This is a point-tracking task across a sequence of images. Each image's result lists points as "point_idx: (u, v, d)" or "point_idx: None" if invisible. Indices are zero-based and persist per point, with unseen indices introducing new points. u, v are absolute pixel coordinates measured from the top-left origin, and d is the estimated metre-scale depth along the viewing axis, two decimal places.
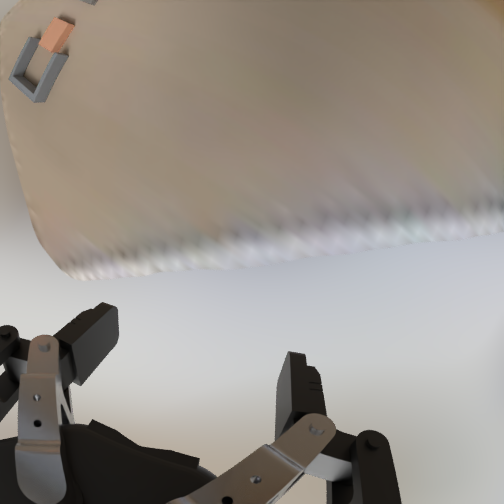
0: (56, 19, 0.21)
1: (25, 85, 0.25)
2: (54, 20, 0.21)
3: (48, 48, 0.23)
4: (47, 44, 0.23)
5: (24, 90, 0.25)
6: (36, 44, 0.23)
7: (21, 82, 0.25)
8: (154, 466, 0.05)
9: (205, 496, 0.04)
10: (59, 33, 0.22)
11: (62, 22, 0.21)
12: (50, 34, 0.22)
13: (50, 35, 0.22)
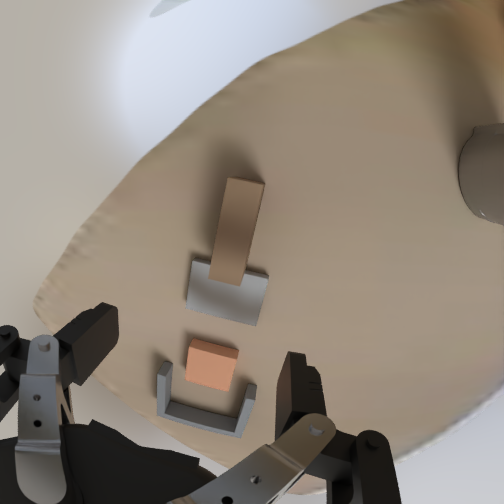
0: (198, 350, 0.27)
1: (204, 422, 0.29)
2: (194, 352, 0.27)
3: (217, 387, 0.28)
4: (209, 382, 0.28)
5: (209, 429, 0.29)
6: (171, 371, 0.29)
7: (192, 420, 0.29)
8: (154, 466, 0.05)
9: (205, 496, 0.04)
10: (227, 372, 0.27)
11: (220, 356, 0.27)
12: (204, 371, 0.27)
13: (205, 372, 0.28)
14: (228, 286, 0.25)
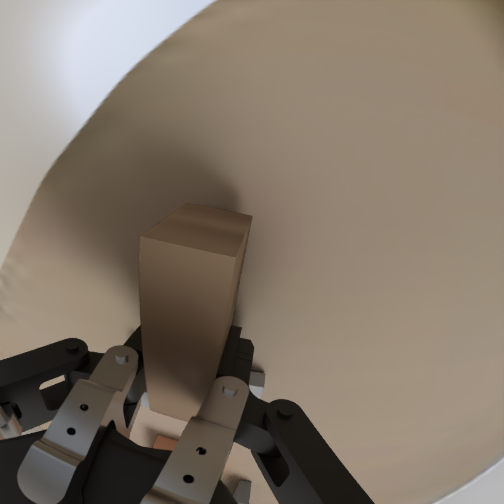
0: None
1: None
2: None
3: None
4: None
5: None
6: None
7: None
8: (154, 466, 0.05)
9: (168, 481, 0.04)
10: None
11: None
12: None
13: None
14: None
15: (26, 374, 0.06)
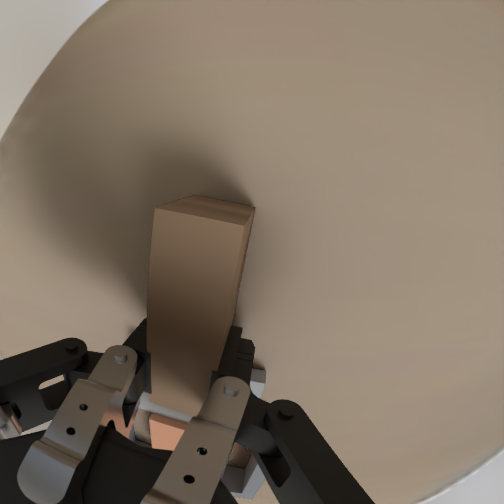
0: (165, 425, 0.14)
1: None
2: (159, 426, 0.14)
3: None
4: None
5: None
6: None
7: None
8: (154, 466, 0.05)
9: (168, 482, 0.04)
10: None
11: None
12: None
13: None
14: None
15: (25, 374, 0.06)
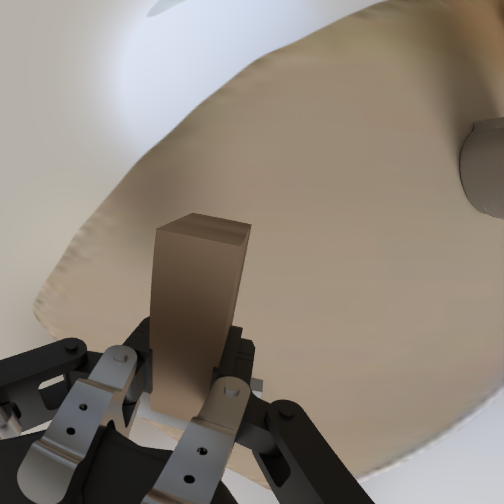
0: None
1: None
2: None
3: None
4: None
5: None
6: None
7: None
8: (154, 466, 0.05)
9: (168, 482, 0.04)
10: None
11: None
12: None
13: None
14: None
15: (25, 374, 0.06)
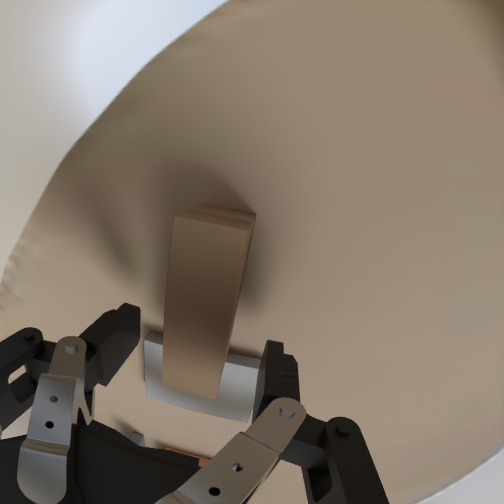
0: None
1: None
2: None
3: None
4: None
5: None
6: (142, 444, 0.19)
7: None
8: (154, 466, 0.05)
9: (192, 490, 0.04)
10: None
11: None
12: None
13: None
14: None
15: None
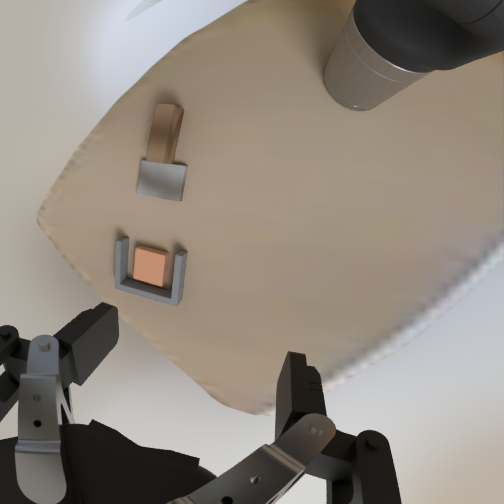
0: (141, 250, 0.39)
1: (148, 291, 0.41)
2: (139, 252, 0.39)
3: (154, 283, 0.41)
4: (149, 278, 0.40)
5: (152, 297, 0.40)
6: (127, 244, 0.40)
7: (139, 289, 0.40)
8: (154, 466, 0.05)
9: (205, 496, 0.04)
10: (159, 267, 0.40)
11: (154, 254, 0.39)
12: (145, 268, 0.40)
13: (146, 269, 0.40)
14: (161, 174, 0.37)
15: None
